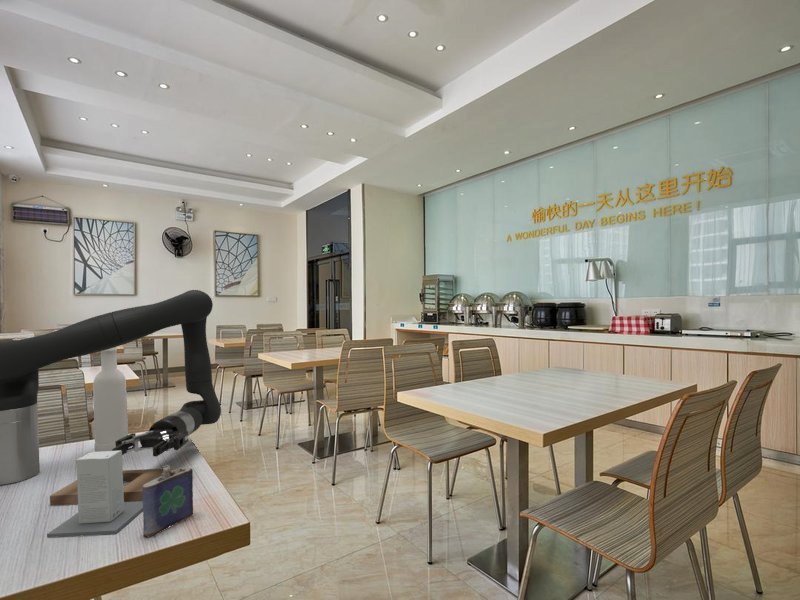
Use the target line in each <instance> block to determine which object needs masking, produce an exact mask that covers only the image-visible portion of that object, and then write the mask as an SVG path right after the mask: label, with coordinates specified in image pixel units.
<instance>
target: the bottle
mask: <svg viewBox="0 0 800 600" xmlns="http://www.w3.org/2000/svg"><path fill="white" fill-rule="evenodd" d="M117 352H118V348H117V347H114V348H110V349H107V350H103V351H100V352H99V353H100V363H101V371H99V372H98V373H97V374H96V375H95V377H94V379H93V382H92V393H93V394H92V397H93V423H94V424H93V427H94V431H93V432H94V452H101V451H112V449H114V448H115V447H116V443H115V441H117V440H119V439H121V438H123V437H125V436H127V435H129V426H128V425H129V421H128V398H127V397H128V394H127V393H128V392H127V379H126V376H125V374H124V372H123V371H121V370H120V369H118V359H117Z"/></svg>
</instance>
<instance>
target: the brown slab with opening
mask: <svg viewBox="0 0 800 600" xmlns="http://www.w3.org/2000/svg"><path fill="white" fill-rule="evenodd" d="M178 468H179V467H172V468H171V467H170V470H173V471H174V470H176V469H178ZM162 473H163V468H162V469H161V468H150V469H149V468H148V469H146V468H145V469H125V470H124V469H123V483H127V484H126V485H124V486H123V492H124V502H138V501H143V492H142V486H143V485H144V484H146V483H148V482H150V481H152V480H154V479H156V478H159V477H161V476H163V475H162ZM66 505H67V506H68V505H78V489H77V479H76V480H75V481H73V482H71V483H69V484H68V485H66V486H64V487H63V488H61V489H59V490H57V491H56V492H54V493H52V494H50V495H49V506H66Z"/></svg>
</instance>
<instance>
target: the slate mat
mask: <svg viewBox="0 0 800 600" xmlns="http://www.w3.org/2000/svg"><path fill="white" fill-rule="evenodd" d="M141 513H143V501H131V502H124V512H122V513H121V514H120V515H119V516H117V517H116V518H115V519H114V520H112V521H111V522H99V523H83V524H79V517H78V512H77V513H76V514H74V515H73V516H71V517H69V518H68V519H67V520H66V521H63V522H62V523H61V524H60V525H58V526H57V527H55V528H54V529H52V530H51V531H49V532H48V533H47V534H46V537H47V538H61V537H62V538H63V537H81V536H80V535H83V536H98V535H99V534H103V535H117V534H118V533H120V531H121V530H122V529H123V528H125V527H127V525H129V523H131V522H132V521H133V520H134V519H135V518H137V516H139V515H140V514H141ZM99 536H100V535H99Z"/></svg>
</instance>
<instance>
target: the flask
mask: <svg viewBox="0 0 800 600" xmlns="http://www.w3.org/2000/svg"><path fill="white" fill-rule="evenodd" d="M170 468H171V467H170V465H168V464H166V465H164V466H162V467H160V469H163V473H162V475H163V476H161V477H159V478H156V479H154V480H152V481H150V482H148V483H146V484H144V485H143V486H142V492H143V511H142V513H143V514H142V516H143V517H142V518H143V520H142V522H143V525H142V526H143V531H142V533H143V536H144V535H145V536H144V537H146V536H150V537H152V536H155V535H154V534H156V535H158V534H157V533H159V532H160V531H161V532H163V531H165V530H164V529H166V528H168V527H169V526H172V525H174V526H175V525H176V524H179V523H181V522H182V521H185V520H187V519H189V518H192V517H193V516H194V499H193V498H194V492H193V486H194V484H193V483H194V481H193V478H194V476H193V475H194V474H193V472H194V471H193V470H194V469H193V468H191V467H177V468H178V469H176V470H174V471H173V470H170ZM172 527H173V526H172ZM168 529H169V528H168ZM162 530H163V531H162ZM166 530H167V529H166ZM161 532H160V533H161ZM160 533H159V534H160Z"/></svg>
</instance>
